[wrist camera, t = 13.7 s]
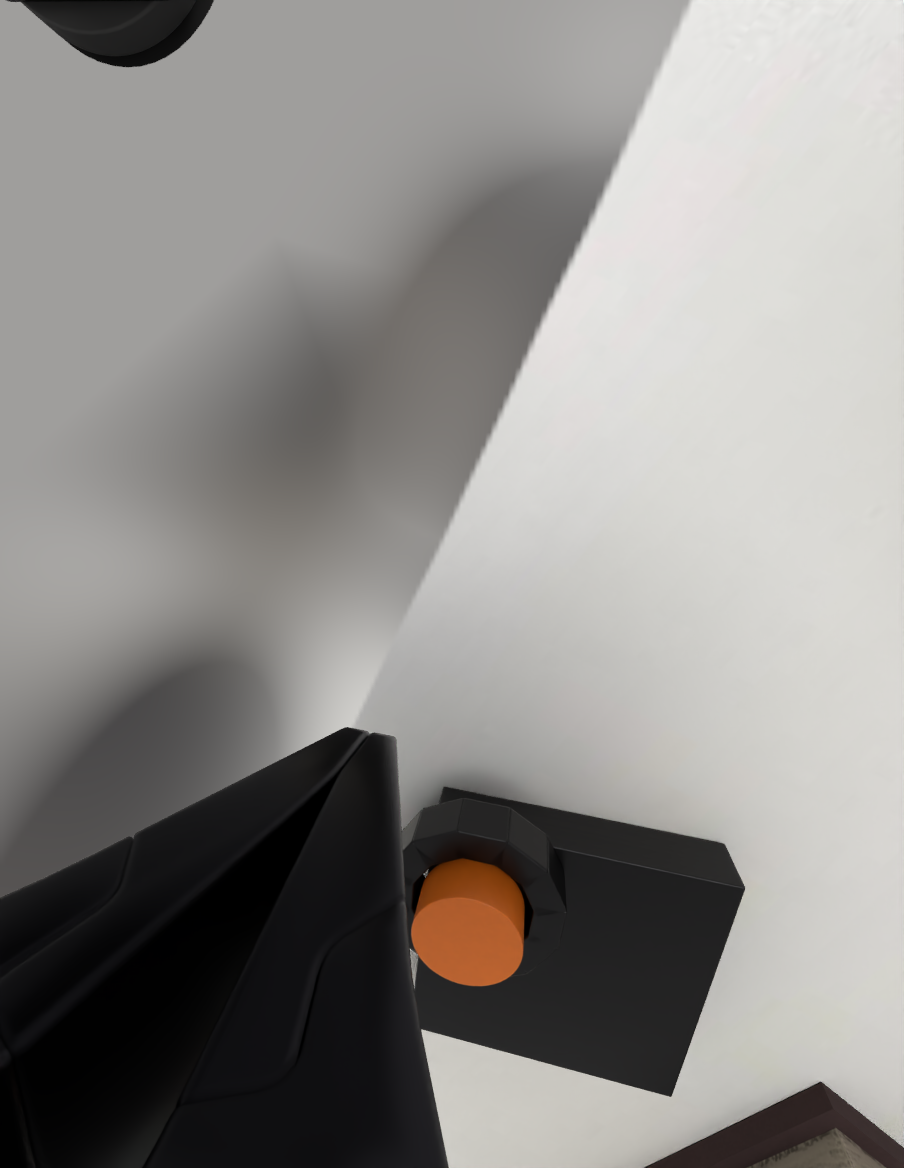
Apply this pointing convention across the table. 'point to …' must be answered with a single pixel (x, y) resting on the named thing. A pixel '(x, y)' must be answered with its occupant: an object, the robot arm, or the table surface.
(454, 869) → the button
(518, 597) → the table surface
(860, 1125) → the book
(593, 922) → the button block
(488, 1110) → the table surface
